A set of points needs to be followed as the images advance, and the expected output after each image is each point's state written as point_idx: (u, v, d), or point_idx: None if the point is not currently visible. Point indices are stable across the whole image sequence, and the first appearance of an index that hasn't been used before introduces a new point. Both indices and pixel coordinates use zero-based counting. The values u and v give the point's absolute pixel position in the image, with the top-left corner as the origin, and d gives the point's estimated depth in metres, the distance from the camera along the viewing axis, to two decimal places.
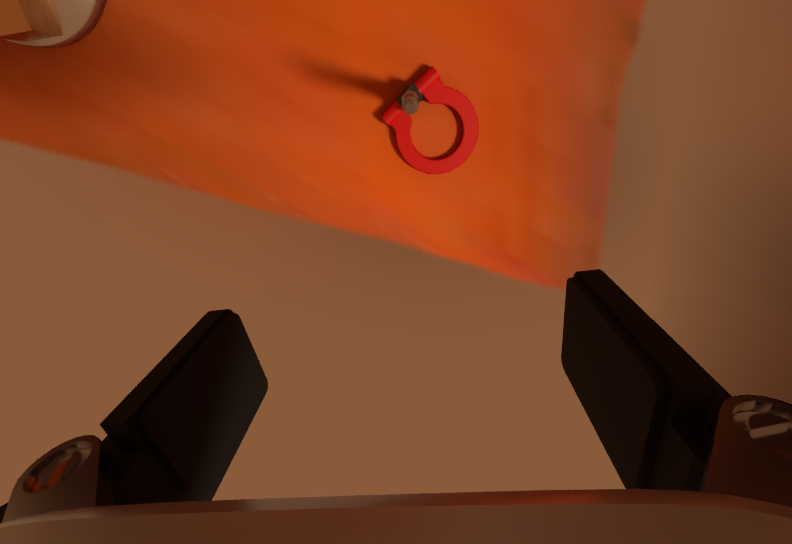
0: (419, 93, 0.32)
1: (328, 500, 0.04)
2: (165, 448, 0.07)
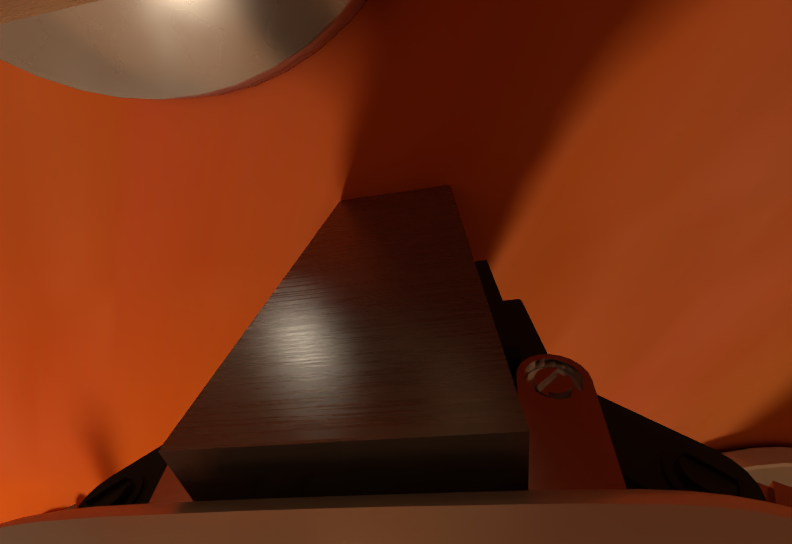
0: None
1: (328, 500, 0.04)
2: None
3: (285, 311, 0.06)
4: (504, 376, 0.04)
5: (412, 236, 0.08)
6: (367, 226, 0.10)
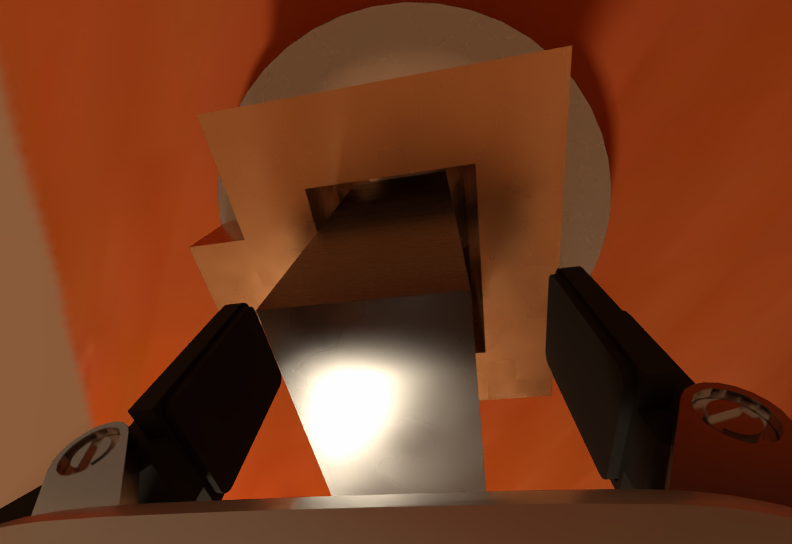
0: None
1: (328, 500, 0.04)
2: (189, 435, 0.07)
3: (321, 249, 0.09)
4: (462, 270, 0.07)
5: (411, 204, 0.11)
6: (377, 200, 0.12)
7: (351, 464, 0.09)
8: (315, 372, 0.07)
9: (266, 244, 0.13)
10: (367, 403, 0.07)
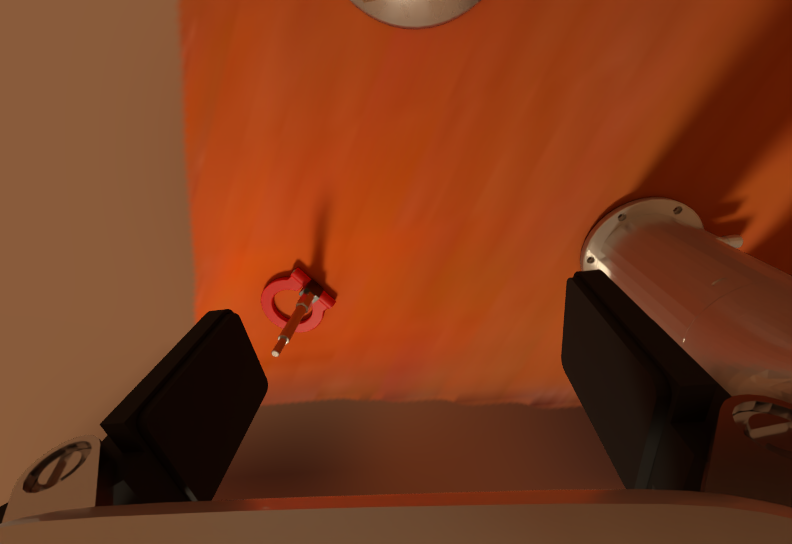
0: (313, 302, 0.43)
1: (328, 500, 0.04)
2: (165, 448, 0.07)
3: None
4: None
5: None
6: None
7: None
8: None
9: None
10: None
